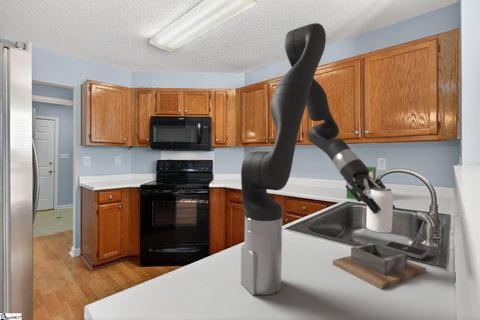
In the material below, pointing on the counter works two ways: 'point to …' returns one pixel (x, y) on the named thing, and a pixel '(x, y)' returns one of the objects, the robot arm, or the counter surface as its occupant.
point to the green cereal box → (371, 173)
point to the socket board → (379, 265)
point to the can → (383, 218)
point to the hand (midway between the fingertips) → (385, 210)
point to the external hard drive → (408, 250)
